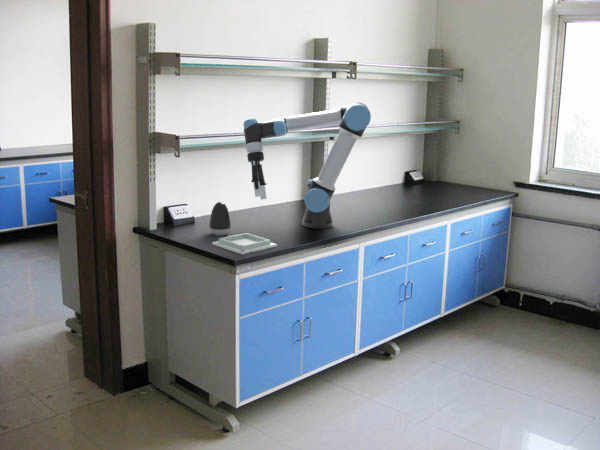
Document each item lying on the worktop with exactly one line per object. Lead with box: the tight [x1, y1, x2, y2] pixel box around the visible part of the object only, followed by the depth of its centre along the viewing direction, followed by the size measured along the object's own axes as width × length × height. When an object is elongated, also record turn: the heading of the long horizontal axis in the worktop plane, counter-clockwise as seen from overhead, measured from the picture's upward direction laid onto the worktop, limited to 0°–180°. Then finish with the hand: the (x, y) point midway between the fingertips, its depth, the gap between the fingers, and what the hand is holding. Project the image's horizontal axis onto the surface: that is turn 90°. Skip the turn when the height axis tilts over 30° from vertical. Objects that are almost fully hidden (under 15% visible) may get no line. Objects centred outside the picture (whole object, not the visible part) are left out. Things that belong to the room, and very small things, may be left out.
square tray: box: [211, 232, 278, 255], centre depth 289 cm, size 20×20×4 cm
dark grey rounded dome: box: [208, 201, 232, 237], centre depth 305 cm, size 10×10×15 cm
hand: (261, 197), depth 306 cm, fingers open, 13 cm apart
